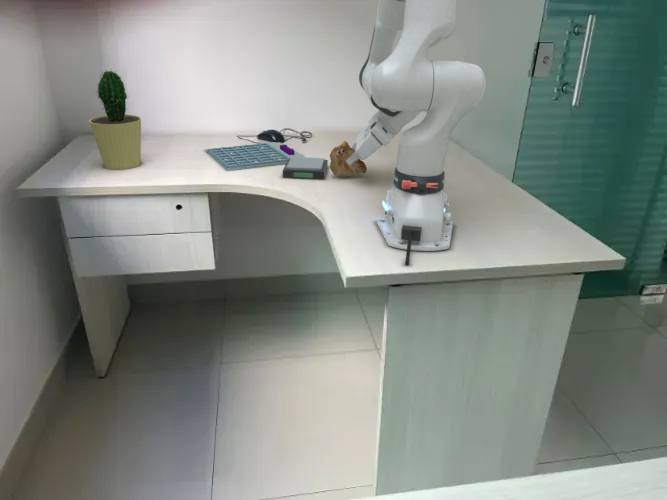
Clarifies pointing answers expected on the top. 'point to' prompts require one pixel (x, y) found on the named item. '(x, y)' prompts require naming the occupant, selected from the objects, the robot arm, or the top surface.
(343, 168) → the decorative rock
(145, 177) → the top surface
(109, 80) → the potted cactus
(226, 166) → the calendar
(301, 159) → the scale
